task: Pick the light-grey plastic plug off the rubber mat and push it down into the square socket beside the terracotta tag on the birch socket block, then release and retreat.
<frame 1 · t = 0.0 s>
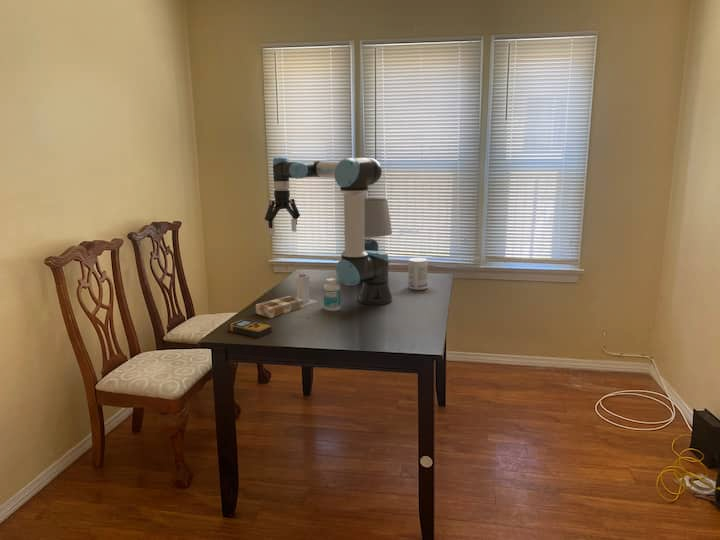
hand: (283, 233, 257), 28 cm above the table, fingers open, 13 cm apart
electronic device: (250, 332, 200), on the table
socket block: (280, 310, 225), on the table
lamp: (368, 280, 279), on the table
supplement tub: (417, 288, 262), on the table
mat: (303, 302, 237), on the table
pill bottle: (332, 309, 227), on the table
plug: (303, 301, 237), resting on mat
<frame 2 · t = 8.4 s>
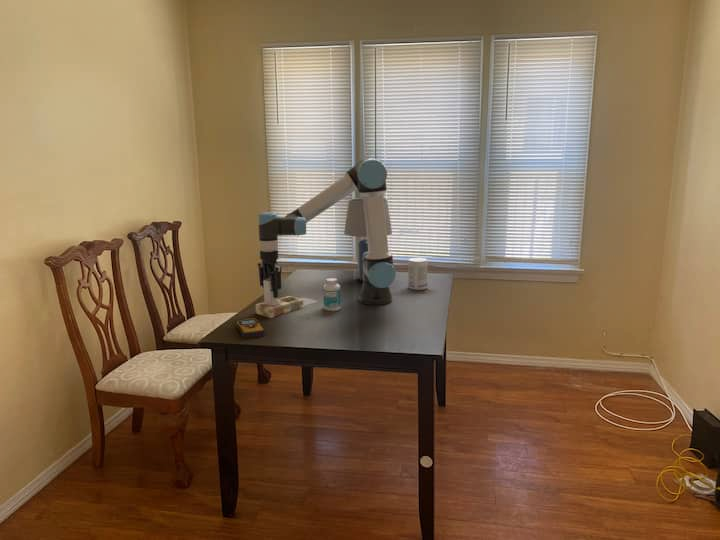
hand: (271, 303, 221), 4 cm above the table, fingers closed on plug, socket block, 4 cm apart
plug: (271, 307, 221), point 3 cm above the table, touching gripper
when the fingers open (4 cm above the table, at t = 9.3 s): plug stays where it is, resting in socket block.
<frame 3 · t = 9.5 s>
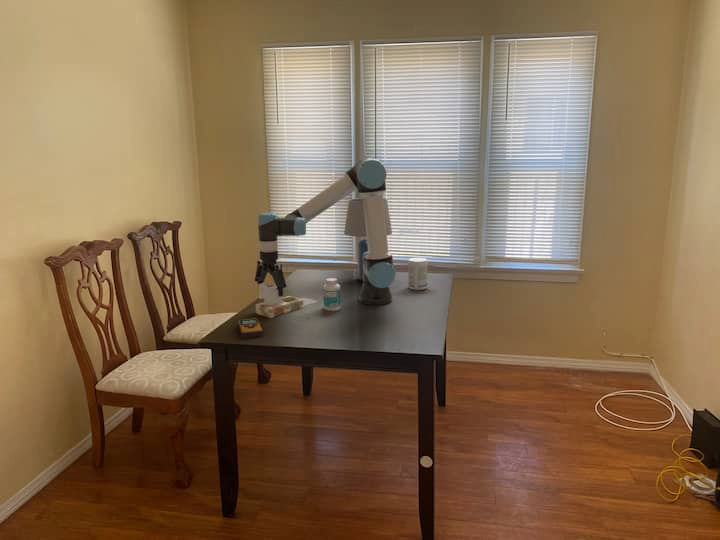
hand: (270, 300, 221), 5 cm above the table, fingers open, 11 cm apart
plug: (271, 313, 222), resting in socket block
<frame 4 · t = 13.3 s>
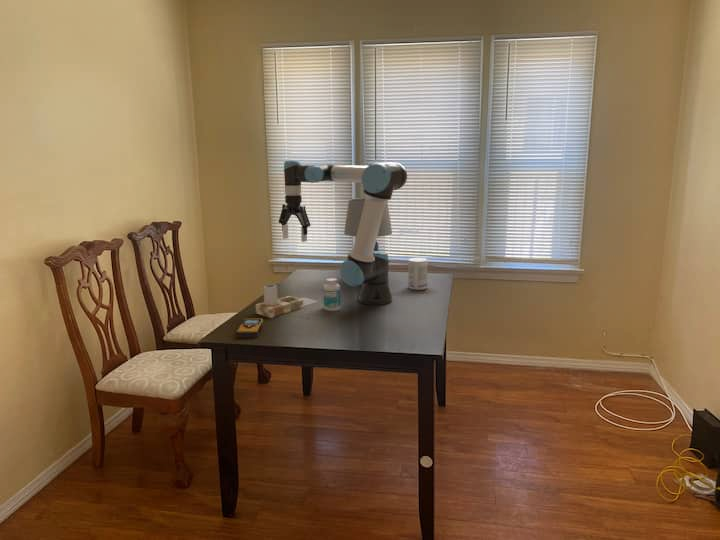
hand: (294, 240, 245), 27 cm above the table, fingers open, 13 cm apart
at the end: plug 0.1 cm from the target spot on the socket block, point 0.0 cm above the socket block's base; plug tilted 0°; the gripper is holding nothing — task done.
